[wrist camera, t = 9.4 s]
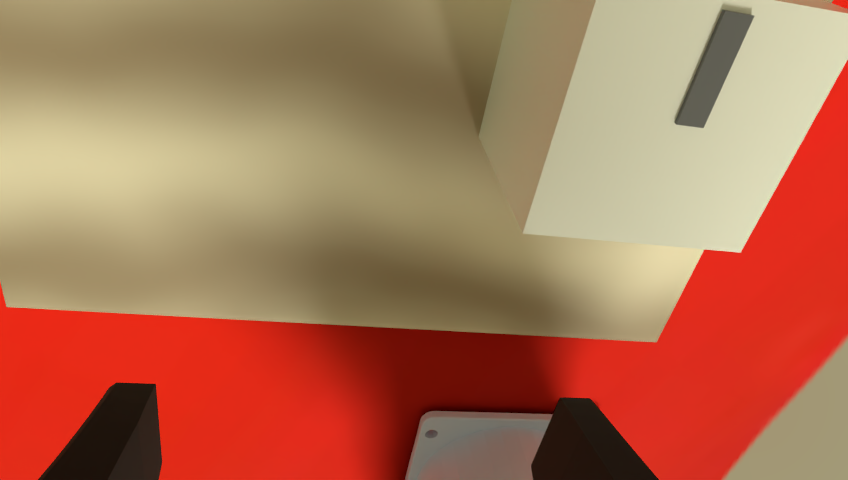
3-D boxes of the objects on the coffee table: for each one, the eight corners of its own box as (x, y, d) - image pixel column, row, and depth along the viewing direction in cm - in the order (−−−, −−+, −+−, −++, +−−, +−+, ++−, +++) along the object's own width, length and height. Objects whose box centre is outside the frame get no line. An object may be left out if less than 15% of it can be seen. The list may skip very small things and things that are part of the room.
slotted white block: (650, 157, 19) (742, 255, 14) (478, 136, 17) (524, 236, 13) (729, -34, 16) (874, 19, 11) (529, -73, 15) (607, -29, 10)
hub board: (645, 324, 24) (702, 415, 20) (20, 286, 20) (-53, 394, 16) (882, -158, 15) (1056, -151, 12) (-137, -415, 11) (-374, -534, 7)
